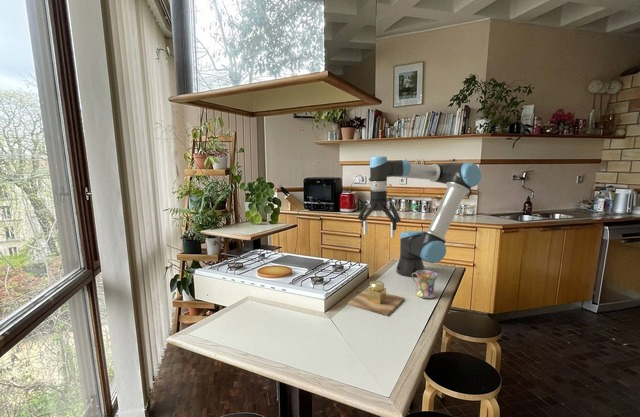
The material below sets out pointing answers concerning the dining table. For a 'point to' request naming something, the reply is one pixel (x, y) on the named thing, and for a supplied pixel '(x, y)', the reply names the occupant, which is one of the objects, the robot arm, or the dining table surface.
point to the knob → (376, 292)
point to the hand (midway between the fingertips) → (378, 235)
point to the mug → (425, 283)
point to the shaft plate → (382, 308)
